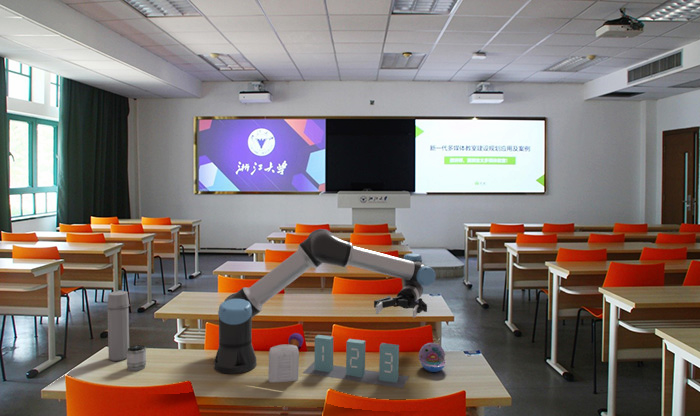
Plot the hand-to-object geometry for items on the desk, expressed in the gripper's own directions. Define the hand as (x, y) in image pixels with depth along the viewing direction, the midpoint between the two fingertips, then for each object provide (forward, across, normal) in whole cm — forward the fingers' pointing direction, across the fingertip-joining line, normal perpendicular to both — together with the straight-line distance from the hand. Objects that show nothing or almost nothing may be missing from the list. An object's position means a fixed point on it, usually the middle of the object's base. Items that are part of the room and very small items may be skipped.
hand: (395, 312), depth 171 cm
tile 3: (+9, 0, -21) cm, 23 cm away
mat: (+9, +12, -21) cm, 26 cm away
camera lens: (+31, +88, -19) cm, 95 cm away
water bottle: (+26, +101, -19) cm, 106 cm away
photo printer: (+22, +34, -21) cm, 45 cm away
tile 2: (+9, +12, -21) cm, 26 cm away
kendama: (-1, +42, -21) cm, 47 cm away
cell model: (-5, -13, -22) cm, 26 cm away
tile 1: (+10, +24, -20) cm, 33 cm away
